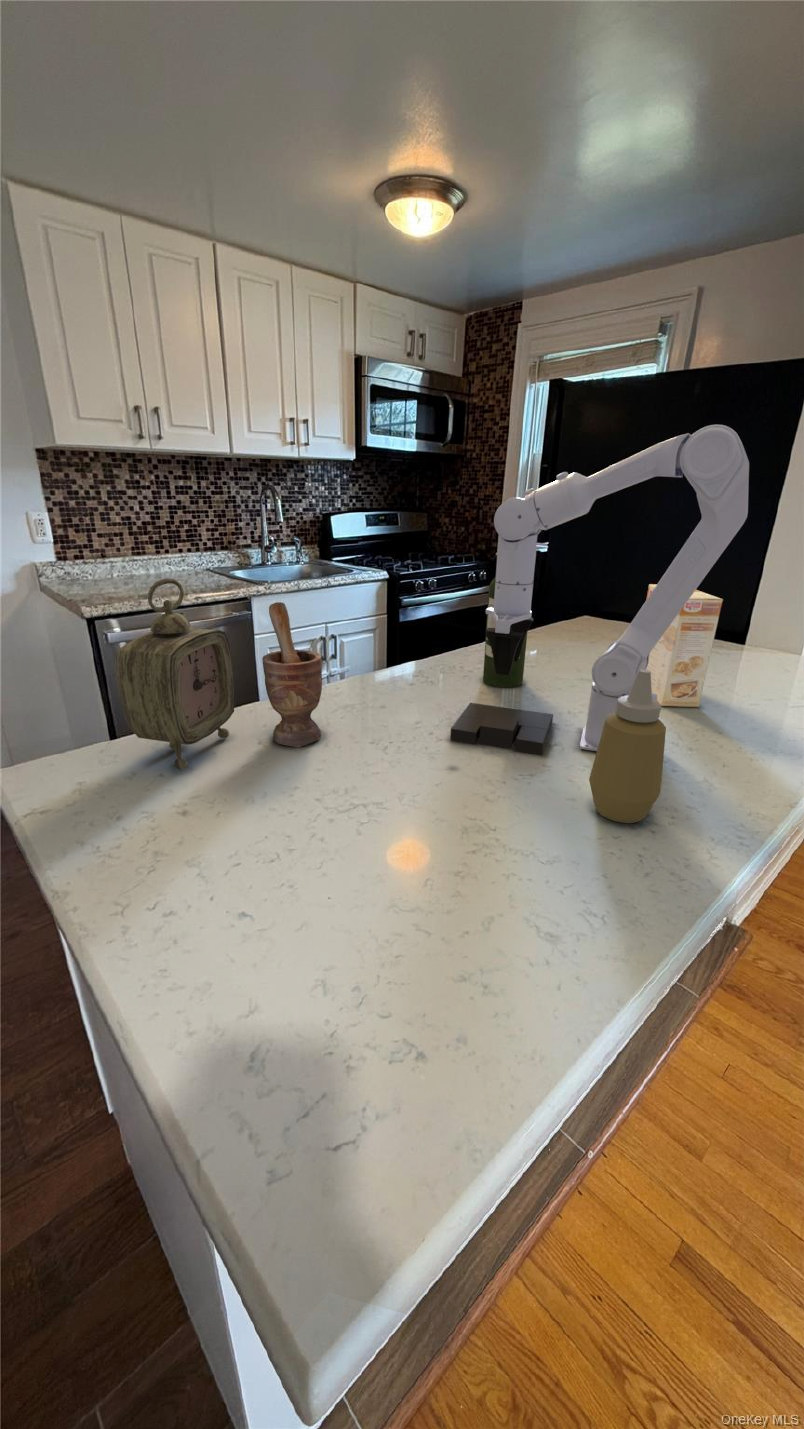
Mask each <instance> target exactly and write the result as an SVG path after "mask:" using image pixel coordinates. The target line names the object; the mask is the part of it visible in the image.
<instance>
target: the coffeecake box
mask: <svg viewBox="0 0 804 1429" xmlns="http://www.w3.org/2000/svg"><path fill="white" fill-rule="evenodd" d="M657 584H658V583H657ZM657 584H655V583H654V584H653V583H650V584H648V588H647V589H648V590H647V594H646V600H647V599H648V597H649V596H650V594H651V593H652V591H653V590H654V588H655V587H656V585H657ZM646 600H645V601H646ZM723 601H724V599H723V598H720V597H718V596H715V595H712V594H709V593H706V592H704V591H700V590H698V589H696V590H695V591H694V593H693V594H692V595H691V597H690V598H689V600H688V601H687V602H686V604H685V605H684V606H683V608H682V609H681V611H680V612H679V613H678V615H677V616H676V617H675V619H674V620H673V622H672V623H671V624H670V626H669V627H668V628H667V630H666V631H665V633H664V634H663V635H662V637H661V638H660V639H659V641H658V642H657V644H656V645H655V646H654V648H653V649H652V651H651V652H650V655H649V662H648V666H647V668H646V669H645V670H649V671H650V672H651V689H652V693H654V694H657V701H658V702H659V703H660V704H661V707H685V708H687V707H688V708H700V703H701V702H700V701H701V697H702V693H703V688H704V685H705V680H706V676H707V671H708V667H709V662H710V658H711V653H712V649H713V645H714V640H715V637H716V632H717V628H718V623H719V618H720V614H721V610H722V606H723Z"/></svg>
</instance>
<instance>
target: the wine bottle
mask: <svg viewBox="0 0 804 1429" xmlns="http://www.w3.org/2000/svg"><path fill="white" fill-rule="evenodd" d="M495 581H496V576H495V577H494V578H493V579H491V582H490V584H489V586H488V595H487V596H488V597H487V608H494V596H495ZM495 626H496V620H495V619H494V617H493V616H492V615H491V614H486V626H485V628H486V629H487V628H488V627H489V628H495ZM486 629H485V630H486ZM527 640H528V633H527V634H526V636H525V639H524V643H523V646H522V650H521V653H520V657H519V659H518V661H517V662H515V661H513V664H512V668H511V671H510V673H509V675H502V674H496V672H495V668H494V661H493V654H492V649H491V646H490V643H489V641H488V639H487V637H486V636H485V641H484V642H485V643H484V658H483V672H482V673H483V674H482V679H483V682H484V683H486V684H487V685H489V686H491V687H496V688H507V689H508V688H516V687H518V686H521V685H522V684H523V682H524V673H525V672H524V670H525V662H526V652H527Z"/></svg>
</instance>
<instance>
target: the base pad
mask: <svg viewBox="0 0 804 1429" xmlns="http://www.w3.org/2000/svg"><path fill="white" fill-rule="evenodd" d="M486 716H492V717H499V718H506V719H513V720H518V729H517V738H516V740H515V742H514V751H515V752H521V753H526V754H533V755H538V756H542V755H543V754H544V750H545V747H546V744H547V742H548V738H549V735H550V731H551V729H552V727H553V720H554V714H553V713H548V712H540V711H533V710H527V709H526V710H525V709H518V708H513V707H512V708H511V707H504V706H497V705H490V704H484V703H483V704H482V703H475V702H469V703H468V705H467V706H466V708H465V709H464V710H463V712H462V713H461V714H460V715H459V717H458V718H457V720H456V721H455V722H454V723H453V725H452V726H451V728H450V739H449V740H450V741H451V742H452V741H453V742H459V743H463V744H464V743H465V744H471V745H476V744H477V742H479V738H480V726H481V724H482V723H483V721H484V719H485V718H486Z"/></svg>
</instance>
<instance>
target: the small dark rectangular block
mask: <svg viewBox="0 0 804 1429" xmlns="http://www.w3.org/2000/svg"><path fill="white" fill-rule="evenodd" d="M517 729H518V720H513V719H506V718H499V717H492V716H486V718H485V719H484V721H483V723H482V724H481V726H480V737H479V739H478V742H479V743H478V744H480V745H486V746H491V747H497V748H503V749H509V750H511V749H513V747H514V746H515V743H516V738H517Z"/></svg>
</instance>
